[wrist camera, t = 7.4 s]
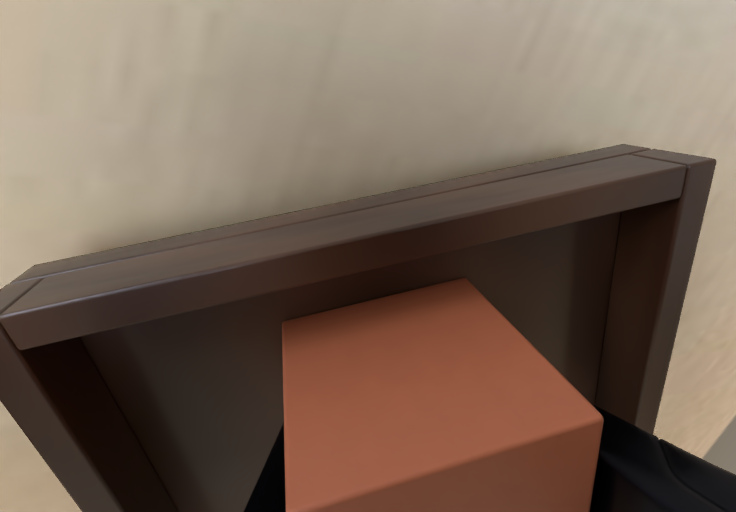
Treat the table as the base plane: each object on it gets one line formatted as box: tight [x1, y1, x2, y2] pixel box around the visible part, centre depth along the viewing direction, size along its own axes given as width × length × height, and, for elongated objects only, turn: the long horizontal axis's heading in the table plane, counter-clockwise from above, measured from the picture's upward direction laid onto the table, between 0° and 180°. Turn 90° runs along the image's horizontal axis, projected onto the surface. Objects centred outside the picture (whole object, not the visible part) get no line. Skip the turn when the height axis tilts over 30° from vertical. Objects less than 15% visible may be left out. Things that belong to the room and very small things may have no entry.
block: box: [282, 278, 604, 512], centre depth 8 cm, size 4×4×4 cm
